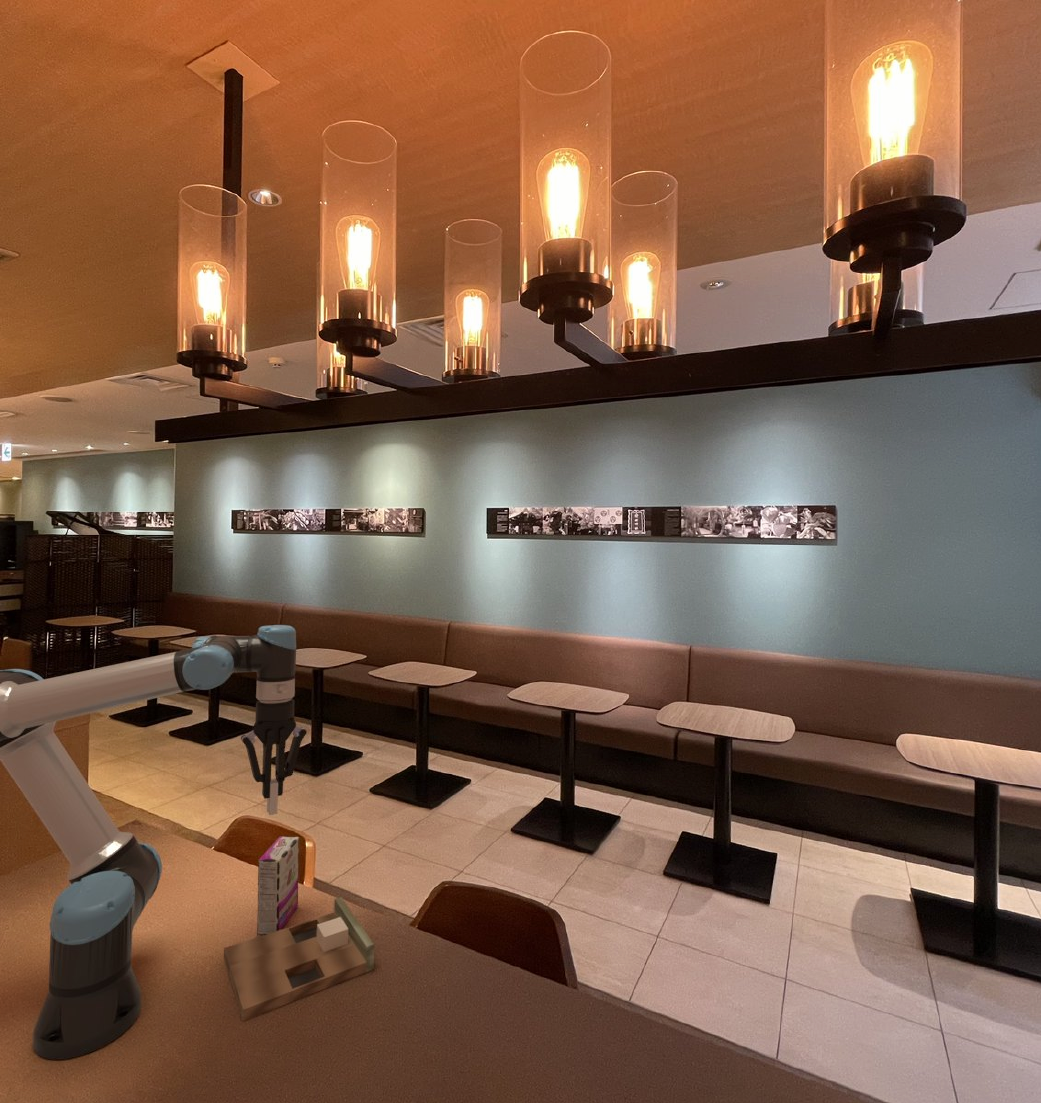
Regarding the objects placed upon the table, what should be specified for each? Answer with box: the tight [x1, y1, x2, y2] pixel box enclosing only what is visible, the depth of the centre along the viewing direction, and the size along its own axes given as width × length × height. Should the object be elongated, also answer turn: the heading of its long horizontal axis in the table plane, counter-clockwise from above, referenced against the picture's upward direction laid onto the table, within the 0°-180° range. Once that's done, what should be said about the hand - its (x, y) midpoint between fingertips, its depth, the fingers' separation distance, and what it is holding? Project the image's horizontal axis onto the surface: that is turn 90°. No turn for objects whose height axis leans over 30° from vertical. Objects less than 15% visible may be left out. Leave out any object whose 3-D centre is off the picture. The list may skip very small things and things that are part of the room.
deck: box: [223, 896, 375, 1022], centre depth 119 cm, size 24×20×5 cm
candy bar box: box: [256, 835, 300, 936], centre depth 133 cm, size 11×5×16 cm, turn 179°
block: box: [317, 917, 348, 952], centre depth 123 cm, size 5×5×3 cm
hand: (272, 812), depth 123 cm, fingers closed
